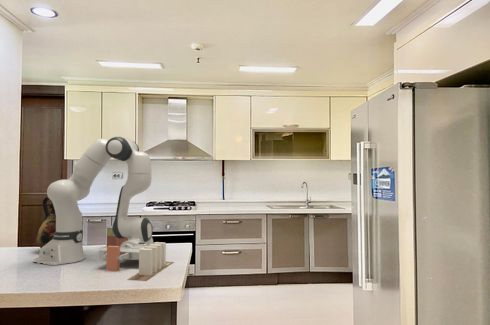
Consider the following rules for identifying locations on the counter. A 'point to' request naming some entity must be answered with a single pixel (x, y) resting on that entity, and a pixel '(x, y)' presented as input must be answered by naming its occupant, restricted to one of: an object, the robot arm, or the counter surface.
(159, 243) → the ivory tile
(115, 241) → the canned food
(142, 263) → the ivory tile
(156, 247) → the ivory tile
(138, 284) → the counter surface
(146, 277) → the walnut board
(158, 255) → the ivory tile
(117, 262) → the rust tile
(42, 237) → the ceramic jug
